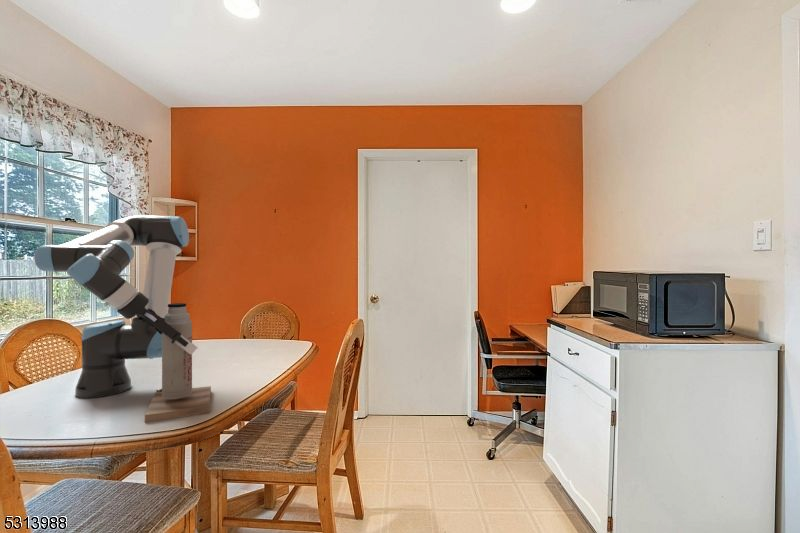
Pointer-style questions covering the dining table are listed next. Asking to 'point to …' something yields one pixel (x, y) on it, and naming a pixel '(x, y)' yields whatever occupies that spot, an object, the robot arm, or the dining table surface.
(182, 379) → the thermos bottle
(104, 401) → the dining table surface
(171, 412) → the walnut board
